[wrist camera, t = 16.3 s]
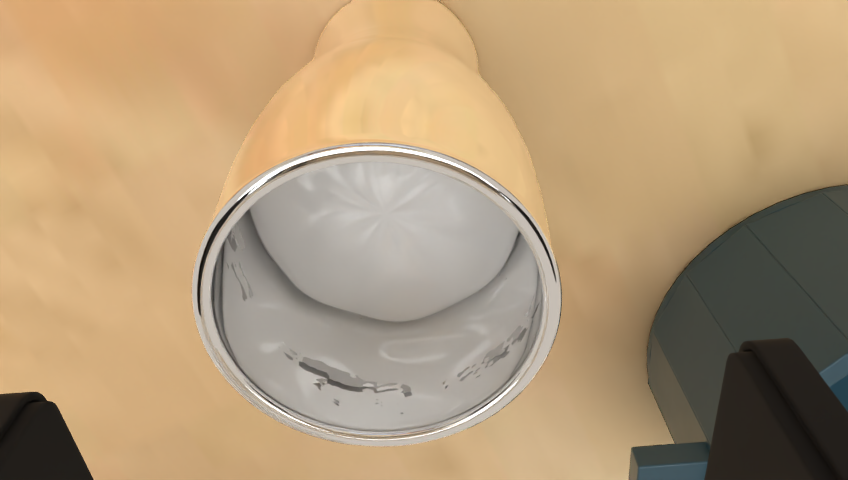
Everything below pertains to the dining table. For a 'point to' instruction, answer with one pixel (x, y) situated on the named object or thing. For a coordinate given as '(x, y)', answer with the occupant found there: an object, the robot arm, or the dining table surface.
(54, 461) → the robot arm
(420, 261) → the beer glass
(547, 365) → the dining table surface
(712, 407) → the pot
